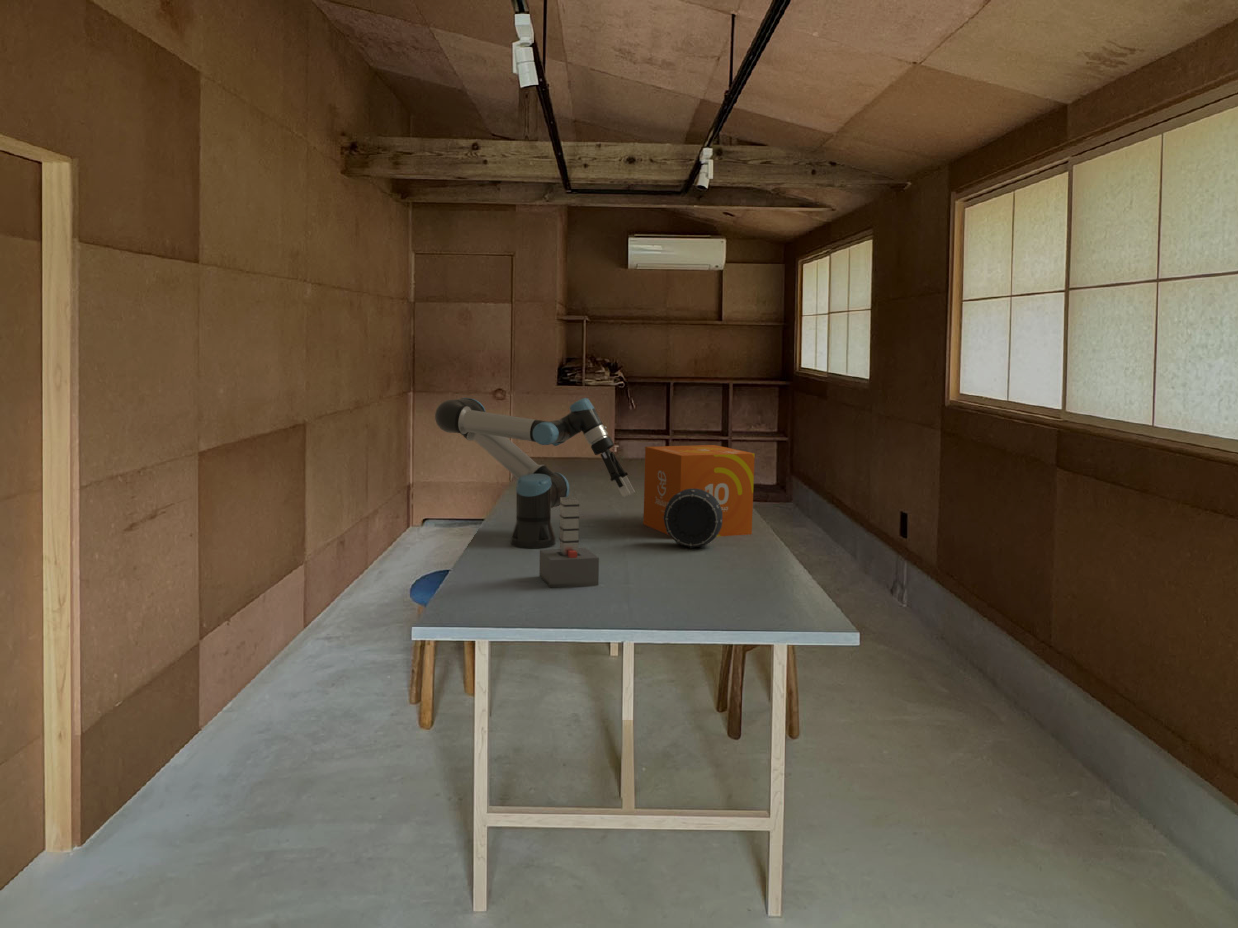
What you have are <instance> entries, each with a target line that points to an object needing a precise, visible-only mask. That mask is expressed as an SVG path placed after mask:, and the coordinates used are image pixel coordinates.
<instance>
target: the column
mask: <svg viewBox="0 0 1238 928" xmlns="http://www.w3.org/2000/svg"><path fill="white" fill-rule="evenodd" d="M559 508H560V509H559V538H558V539H559V540H558V541H559V549H560V556H568V551H572V550H575V551H576V552H577V556H578V548H579V543H580V540H579V533H580V528H579V526H580V523H579V522H580V499H579V497H576V496H568V497H560V505H559Z"/></svg>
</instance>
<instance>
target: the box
mask: <svg viewBox="0 0 1238 928" xmlns="http://www.w3.org/2000/svg"><path fill="white" fill-rule="evenodd" d="M644 449H645V451H644V452H645V453H644V489H643V491H644V493H643V523H642V524H643V525H644V526H647V527H648V528H652V529H654V530H657V531H658V532H661V533H663V534H665V535H667V536H670V535H669V534H668V533H667V532H666V527H665V523H664V519H663V516H664V512H665V509H666V506H667V503H668V502H669V501H670V499H671V498H672V497H673V496H674V495H676V494H677V493H679V492H681V491H683V490H686V489H701V490H704V491H706V492H708V493H710V494H711V495H712V496H714V497H715V498H716V500H717V501H718V503H719V505H720V507H721V509H722V513H723V517H722V527H721V529H720V532H719V533H718V535H717V536H716V537H717V538H718V537H731V536H744V535H745V536H746V535H753V533H752V531H753V513H754V512H753V509H754V483H755V481H754V480H755V459H756V457H755V455H756V453H754V452H749V451H744V450H741V449H740V450H739V449H735V448H730V447H726V446H721V445H717V444H702V445H697V444H696V445H666V446H665V445H663V446H657V445H656V446H645V447H644ZM716 537H715V538H716Z"/></svg>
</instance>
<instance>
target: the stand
mask: <svg viewBox="0 0 1238 928" xmlns="http://www.w3.org/2000/svg"><path fill="white" fill-rule="evenodd" d="M599 566H600V558H599V556H597V555H596V554H594V553H593V552H592V551H591V550H590V549H588V548H586V547H578V556H577V552H576V551H575V550H572V551H568V556H560V548H554V549H553V548H552V549H551V548H550V549H549V548H547V549H539V574H538V575H539V577H541V580H542V581H543V582H544V583H545V584H546V585H547V586H548V587H549V588H550V589H557V588H560V589H561V588H574V587H590V586H591V587H593V586H599V579H600V578H599V571H600V567H599Z"/></svg>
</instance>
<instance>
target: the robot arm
mask: <svg viewBox="0 0 1238 928" xmlns="http://www.w3.org/2000/svg"><path fill="white" fill-rule="evenodd" d="M569 409H570V413H568V414H567V415H565V416H563V417H561V418H560V419H556V420H550V421H548V420H547V421H546V420H539V419H533V418H527V417H520V416H519V417H518V416H513V415H506V414H500V413H493V412H486V408H485V407H484V405H483V404H482V402H480V401H478V400H477V399H474V398H469V397H462V398H457V399H448V400H444V401H443V402H441V403H440V404H438V406H437V408H436V410H435V414H434V421H435V424H436V425H437V426H438V428H439V429H440V430H442V431H443V432H446V433H448V434H449V433H450V434H451V433H453V434H461V436H462V437H463V438H464V439H466V440H467V441H468V442H471V441H474V442H476V443H477V444H478V446H480V447H482V449H483V450H485V451H486V452H487V453H488V454H489V455H490V456H491V457H492V458H494V459H495V460H496V461H497V462H499V464H500V465H502V466H503V468H505V469H506V470H507V471H508V472H510V474H512V476H514V477H515V478H516V479H517V480H516V486H515V487H516V488H515V489H516V492H515V493H516V509H515V510H516V515H515V517H516V522H515V525H514V528H513V531H512V533H511V537H510V544H511V546H514V547H517V548H523V549H525V548H526V549H543V548H544V549H545V548H550V547H553V546H555V545H556V535H555V532H554V529H553V526H552V520H551V515H552V514H551V513H552V511H551V509H553V508H556V507H558V506H559V507H560V497H569V495H570V482H569V481H568V479H567V478H566V477H565V476H564V474H562V473H560V472H557V471H556V472H554V471H553V470H552V469H550V468H549V467H548V466H546V465H545V464H538V463H537V462H535V460H534V459H532V458H531V457H530V456H529V455H527V453H526V452H524V450H522V449H521V448H520V447H519V446H517V444H516V443H514V442H513V441H512V440H511V439H514V440H521V441H528V442H534V443H537V444H539V445H541V446H550V445H553V446H555V447H557V446H559V445H561V444H564V443H565V442H566V441H568V440H569V439H572V438H573V437H574V436H576V435H578V434H580V433H583V435H584V438H585V439H586V441H587V444H588V445H590V449H591V451H592V452H593V454H594V455H595V456H598V455H600V457H601V459H602V461H603V463H604V465H605V468H606V469H607V471H608V474H609V476H610V479H609V480H610V481H611V482H614V484H615V486H616V487H617V489H618V491H619V493H620V495H621V497H622V498H624V497H626V496H631V495H633V494H635V493H636V491H635V489H634V487H633V486H632V483H631V481H630V479H629V478H628V475H629V474H628V472H626V471H625V470H624V468H623V467H622V465H621V464H620V462H619V460H618V458H617V457H616V455H615V453H614V451H611V450H610V449H611V448H613V447H614V446H615V443H614V442H613V439H612V438H611V436H610V435H609V432H608V431H607V428H608V427H607V426H606V425H605V426H604V423H603V422H602V420H601V418H600V415H599V414H598V412H597V410H596V408H595V406H594V405H593V403H592V402H591V401H590V399H589V398H588V397H585V398H584V397H583V398H581V399H579V400H577V401H575V402H573V403H572V404H571V405H570V406H569ZM608 435H609V436H608Z"/></svg>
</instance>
